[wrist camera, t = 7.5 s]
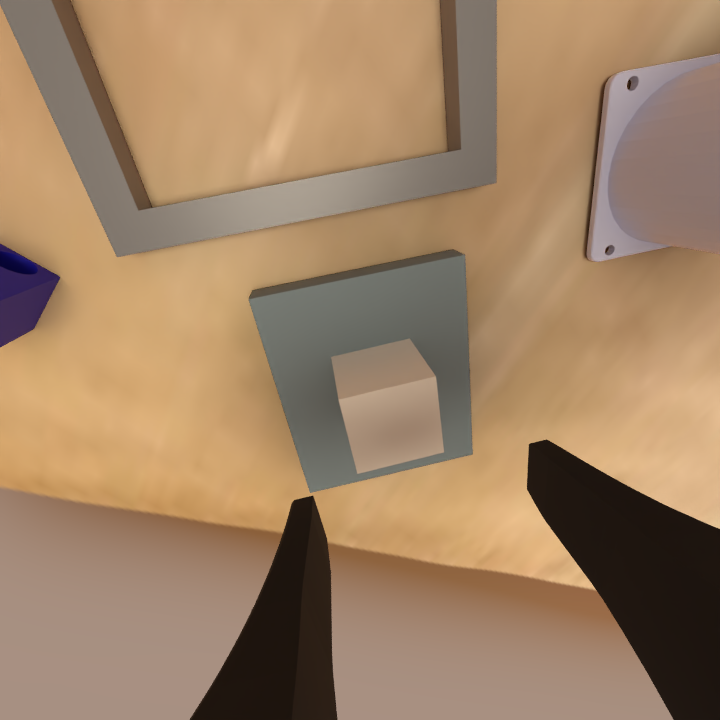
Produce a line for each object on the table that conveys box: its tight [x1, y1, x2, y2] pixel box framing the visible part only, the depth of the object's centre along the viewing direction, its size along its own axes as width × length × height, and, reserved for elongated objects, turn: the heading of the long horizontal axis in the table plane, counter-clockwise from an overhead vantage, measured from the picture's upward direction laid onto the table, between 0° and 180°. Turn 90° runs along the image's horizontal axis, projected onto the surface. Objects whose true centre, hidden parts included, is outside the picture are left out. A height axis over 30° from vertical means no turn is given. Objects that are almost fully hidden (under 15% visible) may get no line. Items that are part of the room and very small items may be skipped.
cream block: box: [331, 339, 444, 474], centre depth 17 cm, size 4×4×4 cm
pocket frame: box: [0, 0, 497, 257], centre depth 13 cm, size 16×12×2 cm
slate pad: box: [249, 250, 473, 493], centre depth 20 cm, size 10×12×2 cm
